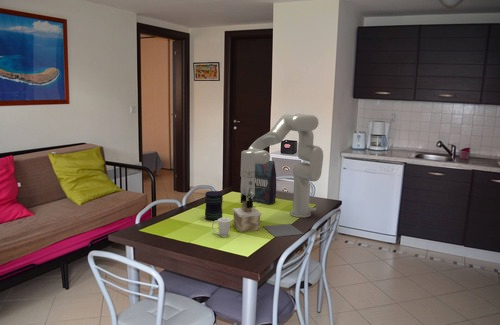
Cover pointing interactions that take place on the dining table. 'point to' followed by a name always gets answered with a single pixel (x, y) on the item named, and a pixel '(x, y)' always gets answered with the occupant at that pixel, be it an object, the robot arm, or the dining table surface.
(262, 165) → the coffee bag
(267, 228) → the mat
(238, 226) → the crate
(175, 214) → the dining table surface
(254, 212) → the lid
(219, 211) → the storage jar
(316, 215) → the dining table surface
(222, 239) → the dining table surface
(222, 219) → the cup
